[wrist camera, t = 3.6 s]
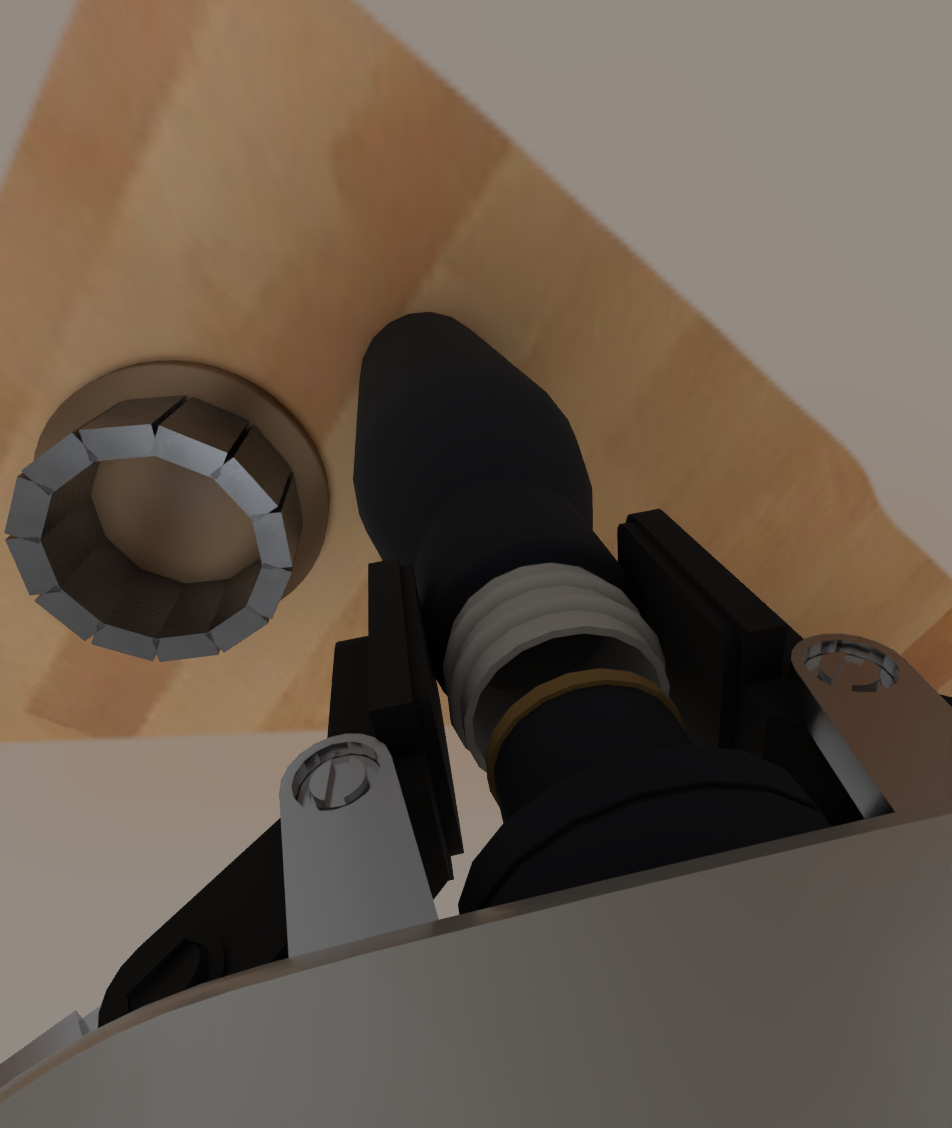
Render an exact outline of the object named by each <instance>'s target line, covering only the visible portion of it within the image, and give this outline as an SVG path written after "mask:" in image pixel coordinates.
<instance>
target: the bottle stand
mask: <svg viewBox="0 0 952 1128" xmlns="http://www.w3.org/2000/svg"><path fill="white" fill-rule="evenodd" d="M22 472H23V473H22V474H20V475H19V476H17V481H16V485H15V489H14V494H13V498H12V502H11V507H10V511H9V516H8V520H7V524H6V529H5V533H6V534H9V535H10V536H9V537H8V538H7V539H5V540H6V542H7V545H8V547H9V549H10V551H11V554H12V556H13V558H14V561H15V563H16V565H17V567H18V570H19V572H20V574H21V576H22V579H23V581H24V583H25V585H26V588H27V590H28V592H29V594H30V595H38V594H40V595H39V596H38V597H37V599H36V600H35V602H36V603H38V604H39V605H40V606H41V607H43V608H44V609H45V610H46V611H48V612H49V613H50V614H52V615H53V616H54V617H55V618H57V619H58V620H59V621H60V622H62V623H63V624H64V625H65V626H67V627H68V628H69V629H70V630H72V631H73V632H74V633H76V634H77V635H78V636H79V637H81V638H82V639H83V640H84V641H86V640H87V639H88V638H90V637H91V636H93V635H94V637H93V640H92V645H96V646H100V647H103V648H107V649H110V650H114V651H118V652H121V653H125V654H128V655H132V656H135V657H139V658H143V659H146V660H150V661H153V660H154V658H155V656H156V654H157V656H158V659H159V661H160V662H163V661H171V660H179V659H187V658H195V657H203V656H211V655H218V654H219V651H220V649H221V650H222V651H223V652H226V651H227V650H229V649H230V648H232V647H233V646H235V645H236V644H238V643H239V642H241V641H242V640H244V639H245V638H247V637H248V636H250V635H251V634H253V633H254V632H256V631H257V630H259V629H260V628H262V627H263V626H265V625H266V624H268V622H269V618H271V619H272V617H273V615H274V613H275V610H276V608H277V606H278V603H279V601H280V600H282V599H283V598H284V597H286V596H287V595H288V594H290V593H291V592H292V591H293V590H294V589H295V588H296V587H297V586H298V585H299V584H300V583H301V582H302V581H303V580H304V578H305V577H306V576H307V574H308V573H309V572H310V570H311V569H312V567H313V565H314V563H315V561H316V559H317V558H318V556H319V553H320V550H321V547H322V545H323V542H324V537H325V532H326V527H327V521H328V512H329V493H328V483H327V479H326V475H325V471H324V467H323V464H322V462H321V459H320V457H319V454H318V452H317V450H316V448H315V446H314V444H313V442H312V441H311V439H310V437H309V436H308V434H307V433H306V431H305V430H304V429H303V427H302V426H301V424H300V423H299V422H298V421H297V420H296V418H295V417H294V416H293V415H292V414H291V413H290V412H289V411H288V410H287V409H286V408H285V407H284V406H283V405H282V404H281V403H279V402H278V401H277V400H276V399H275V398H274V397H272V396H271V395H270V394H268V393H267V392H265V391H264V390H262V389H261V388H259V387H258V386H256V385H255V384H253V383H251V382H249V381H247V380H245V379H243V378H241V377H239V376H237V375H235V374H232V373H230V372H227V371H224V370H222V369H219V368H216V367H212V366H208V365H203V364H199V363H193V362H184V361H153V362H145V363H138V364H135V365H131V366H128V367H124V368H121V369H118V370H116V371H114V372H111V373H109V374H107V375H105V376H102V377H100V378H98V379H96V380H94V381H92V382H90V383H89V384H87V385H86V386H84V387H82V388H81V389H79V390H78V391H76V392H75V393H73V394H72V395H71V396H70V397H69V398H68V399H67V400H66V401H65V402H63V403H62V404H61V405H60V406H59V408H58V409H57V410H56V411H55V413H54V414H53V415H52V417H51V418H50V419H49V421H48V422H47V424H46V426H45V428H44V430H43V432H42V434H41V436H40V439H39V442H38V445H37V448H36V451H35V456H34V461H33V462H32V463H31V464H30V465H28V466H27V467H26V468H24V469H23V470H22Z"/></svg>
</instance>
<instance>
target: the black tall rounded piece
mask: <svg viewBox="0 0 952 1128" xmlns="http://www.w3.org/2000/svg"><path fill="white" fill-rule="evenodd" d="M353 482H354V488H355V493H356V499H357V505H358V510H359V515H360V517H361V520H362V522H363V524H364V527H365V529H366V531H367V533H368V535H369V537H370V539H371V540H372V542H373V544H374V546H375V547H376V549H377V551H378V553H379V555H380V556H381V558H382V560H383V561H386V560H391V559H396V558H399V560H400V564H401V566H402V565H407V564H412V566H413V570H414V575H415V580H416V585H417V590H418V595H419V599H420V604H421V609H422V616H423V623H424V630H425V636H426V642H427V647H428V652H429V657H430V661H431V666H432V671H433V674H434V676H435V678H436V680H437V681H438V683H439V685H440V686H441V688H442V690H443V692H444V693H445V694H446V695H447V696H448V703H449V711H450V719H451V724H452V726H453V727H454V729H455V731H456V733H457V734H458V736H459V738H460V740H461V741H462V743H463V745H464V746H465V748H466V749H468V750H469V751H470V752H471V753H472V755H473V757H474V759H475V761H476V762H477V764H478V766H479V767H480V768H481V769H483V770H484V771H485V772H487V779H488V784H489V788H490V792H491V793H492V795H493V797H494V799H495V800H496V802H497V804H498V805H499V807H500V810H501V814H502V819H503V825H502V826H501V827H500V828H499V830H498V831H497V832H496V833H495V835H494V836H493V837H492V838H491V839H490V841H489V842H488V843H487V844H486V846H485V847H484V848H483V849H482V851H481V852H480V853H479V854H478V855H477V857H476V858H475V859H474V861H473V862H472V865H471V868H470V870H469V873H468V877H467V879H466V882H465V885H464V888H463V891H462V894H461V897H460V900H459V903H458V908H459V915H461V914H465V913H469V912H473V911H478V910H482V909H486V908H490V907H494V906H498V905H503V904H507V903H511V902H515V901H519V900H523V899H528V898H532V897H536V896H540V895H544V894H549V893H553V892H557V891H561V890H565V889H569V888H574V887H578V886H582V885H586V884H590V883H594V882H599V881H603V880H607V879H611V878H615V877H620V876H624V875H628V874H632V873H637V872H641V871H645V870H650V869H654V868H658V867H662V866H667V865H671V864H675V863H679V862H684V861H688V860H692V859H696V858H701V857H705V856H709V855H713V854H718V853H722V852H726V851H731V850H735V849H739V848H743V847H748V846H752V845H756V844H761V843H765V842H769V841H773V840H778V839H782V838H786V837H791V836H795V835H799V834H804V833H808V832H812V831H816V830H821V829H825V828H829V827H833V826H832V825H831V823H830V822H829V821H828V820H827V818H826V817H825V816H824V815H823V813H822V812H821V811H820V810H819V808H818V807H817V806H816V805H815V803H814V802H813V801H812V800H811V798H810V797H809V796H808V795H807V794H806V793H805V791H804V790H803V789H802V788H801V787H800V786H799V785H798V783H797V782H796V781H795V780H794V779H793V778H792V776H791V775H790V774H789V773H788V772H787V771H786V770H785V769H783V768H781V767H779V766H777V765H774V764H772V763H770V762H767V761H765V760H763V759H761V758H758V757H756V756H754V755H751V754H749V753H747V752H744V751H742V750H733V749H721V748H709V747H696V746H694V744H693V743H692V741H691V740H690V738H689V737H688V735H687V734H686V731H685V728H684V725H683V722H682V719H681V716H680V713H679V711H678V709H677V708H676V706H675V705H674V703H673V702H672V700H671V699H670V698H669V691H670V685H669V682H668V679H667V676H666V672H665V666H666V662H665V658H664V655H663V652H662V649H661V646H660V643H659V640H658V636H657V634H656V633H655V632H654V631H653V630H652V629H651V628H650V627H649V625H648V624H647V623H646V622H645V621H644V620H643V619H642V617H641V616H640V609H639V603H638V600H637V596H636V593H635V590H634V587H633V584H632V581H631V578H630V577H629V576H628V574H627V573H626V572H625V571H624V569H623V568H622V567H621V566H620V564H619V563H618V562H617V560H616V559H615V558H614V557H613V555H612V554H611V553H610V552H609V550H608V549H607V548H606V546H605V545H604V544H603V543H602V541H601V540H600V539H599V538H598V536H597V535H596V534H595V532H594V531H593V504H592V486H591V483H590V480H589V476H588V473H587V470H586V467H585V464H584V461H583V458H582V455H581V452H580V449H579V446H578V443H577V440H576V437H575V434H574V432H573V430H572V428H571V425H570V423H569V421H568V419H567V418H566V417H565V415H564V414H563V413H562V412H561V410H560V409H559V408H558V406H557V405H556V404H555V403H554V401H553V400H552V399H551V397H550V396H549V395H548V394H547V392H545V391H544V390H543V389H542V388H541V387H539V386H538V385H537V384H536V383H535V382H533V381H532V380H531V379H530V378H529V377H527V376H526V375H525V374H524V373H522V372H521V371H520V370H519V369H518V368H516V367H515V366H514V365H513V364H512V363H510V362H509V361H508V360H507V359H506V358H504V357H503V356H502V355H501V354H499V353H498V352H497V351H496V350H495V349H493V348H492V347H491V346H490V345H489V344H487V343H486V342H485V341H484V340H483V339H481V338H480V337H479V336H478V335H477V334H475V333H474V332H473V331H472V330H470V329H469V328H468V327H466V326H464V325H463V324H461V323H460V322H458V321H457V320H455V319H454V318H452V317H449V316H444V315H440V314H436V313H432V312H426V313H415V314H408V315H406V316H404V317H401V318H399V319H397V320H395V321H393V322H391V323H389V324H388V325H387V326H385V327H384V328H383V329H382V330H381V331H380V332H379V333H378V334H377V335H376V336H375V337H374V338H373V340H372V341H371V343H370V345H369V347H368V349H367V351H366V353H365V355H364V357H363V361H362V367H361V374H360V381H359V396H358V412H357V427H356V443H355V458H354V474H353Z"/></svg>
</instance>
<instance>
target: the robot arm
mask: <svg viewBox="0 0 952 1128" xmlns="http://www.w3.org/2000/svg"><path fill="white" fill-rule="evenodd" d="M617 537H618V563H619V564H620V566H621V567H622V568H623V569H624V571H625V572H626V573H627V574H628V576H629V577H630V578H631V581H632V584H633V587H634V590H635V593H636V596H637V600H638V603H639V609H640V616H641V617H642V619H643V620H644V621H645V622H646V623H647V624H648V625H649V627H650V628H651V629H652V630H653V631H654V632H655V633H656V634H657V636H658V640H659V643H660V646H661V649H662V652H663V655H664V658H665V662H666V666H665V672H666V676H667V679H668V682H669V685H670V691H669V698H670V699H671V700H672V702H673V703H674V705H675V706H676V708H677V709H678V711H679V713H680V716H681V719H682V722H683V725H684V728H685V731H686V734H687V735H688V737H689V738H690V740H691V741H692V743H693V744H694V746H696V747H709V748H721V749H733V750H742V751H744V752H747V753H749V754H751V755H754V756H756V757H758V758H761V759H763V760H765V761H767V762H770V763H772V764H774V765H777V766H779V767H781V768H783V769H785V770H786V771H787V772H788V773H789V774H790V775H791V776H792V778H793V779H794V780H795V781H796V782H797V783H798V785H799V786H800V787H801V788H802V789H803V790H804V791H805V793H806V794H807V795H808V796H809V797H810V798H811V800H812V801H813V802H814V803H815V805H816V806H817V807H818V808H819V810H820V811H821V812H822V813H823V815H824V816H825V817H826V818H827V820H828V821H829V822H830V823H831V825H832V826H833V827H829V828H825V829H821V830H816V831H812V832H808V833H804V834H799V835H795V836H791V837H786V838H782V839H778V840H773V841H769V842H765V843H761V844H756V845H752V846H748V847H743V848H739V849H735V850H731V851H726V852H722V853H718V854H713V855H709V856H705V857H701V858H696V859H692V860H688V861H684V862H679V863H675V864H671V865H667V866H662V867H658V868H654V869H650V870H645V871H641V872H637V873H632V874H628V875H624V876H620V877H615V878H611V879H607V880H603V881H599V882H594V883H590V884H586V885H582V886H578V887H574V888H569V889H565V890H561V891H557V892H553V893H549V894H544V895H540V896H536V897H532V898H528V899H523V900H519V901H515V902H511V903H507V904H503V905H498V906H494V907H490V908H486V909H482V910H478V911H473V912H469V913H465V914H461V915H457V916H453V917H449V918H444V919H440V920H439V919H438V916H437V912H436V909H435V905H434V902H433V899H434V898H435V897H436V896H437V894H438V893H439V892H440V891H441V889H442V888H443V887H444V885H445V884H446V883H447V881H449V880H453V879H454V876H453V869H452V862H451V856H453V855H458V854H462V853H464V850H463V843H462V837H461V831H460V824H459V818H458V811H457V805H456V799H455V792H454V786H453V780H452V774H451V767H450V761H449V755H448V748H447V742H446V736H445V730H444V723H443V717H442V710H441V704H440V698H439V692H438V687H437V682H436V678H435V676H434V674H433V671H432V666H431V661H430V657H429V652H428V647H427V642H426V636H425V630H424V623H423V616H422V609H421V604H420V599H419V595H418V590H417V585H416V580H415V575H414V570H413V566H412V564H407V565H402V566H401V564H400V560H399V558H396V559H391V560H386V561H381V562H375V563H370V564H369V565H368V630H369V636H365V637H360V638H355V639H350V640H345V641H340V642H337V643H336V645H335V652H334V664H333V676H332V688H331V700H330V712H329V725H328V737H327V739H325V740H322V741H320V742H318V743H316V744H314V745H312V746H311V747H309V748H308V749H307V750H305V751H304V752H302V753H301V754H299V755H298V757H297V758H296V759H295V760H294V761H293V762H292V763H291V764H290V765H289V766H288V768H287V770H286V772H285V774H284V776H283V778H282V779H281V785H280V792H279V798H280V815H281V818H280V819H279V820H278V821H276V822H275V823H274V824H273V825H272V826H271V827H270V828H269V829H268V830H267V831H266V832H264V834H262V835H261V836H260V837H259V838H258V839H257V840H256V841H255V842H253V843H252V844H251V845H250V846H249V847H248V848H247V849H246V850H245V851H244V852H242V853H241V854H240V855H239V856H238V857H237V858H236V859H235V860H234V861H233V862H232V863H230V864H229V865H228V866H227V867H226V868H225V869H224V870H223V871H222V872H221V873H220V874H218V875H217V876H216V877H215V878H214V879H213V880H212V881H211V882H210V883H209V884H208V885H206V886H205V887H204V888H203V889H202V890H201V891H200V892H199V893H198V894H197V895H196V896H194V897H193V899H191V900H190V901H189V902H188V903H187V904H186V905H185V906H183V908H181V909H180V910H179V911H178V912H177V913H176V914H175V915H174V916H173V917H172V918H170V920H168V921H167V922H166V923H165V924H164V925H163V926H162V927H161V928H160V929H158V930H157V931H156V932H155V933H154V934H153V935H152V936H151V937H150V938H149V939H147V940H146V941H145V942H144V943H143V944H142V945H141V946H140V947H139V948H138V949H137V950H136V951H135V952H134V953H133V954H132V955H131V956H130V958H129V959H128V960H127V961H126V962H125V963H124V964H123V965H122V966H121V967H120V969H119V971H118V972H117V974H116V975H115V977H114V979H113V980H112V982H111V984H110V985H109V987H108V988H107V990H106V993H105V996H104V999H103V1002H102V1005H100V1006H99V1007H98V1008H96V1009H95V1010H94V1011H92V1012H91V1013H89V1014H88V1015H87V1016H85V1017H84V1018H82V1017H81V1016H80V1015H79V1014H78V1012H77V1011H76V1010H75V1011H74V1012H73V1013H71V1014H70V1015H68V1016H67V1017H66V1018H64V1019H63V1020H61V1021H60V1022H59V1023H57V1024H56V1025H54V1026H53V1027H52V1028H50V1029H49V1030H47V1031H46V1032H45V1033H43V1034H42V1035H41V1036H39V1037H38V1038H36V1039H35V1040H33V1041H32V1042H31V1043H29V1044H28V1045H27V1046H25V1047H24V1048H22V1049H21V1050H19V1051H18V1052H17V1053H15V1054H14V1055H12V1056H11V1057H10V1058H8V1059H7V1060H6V1061H4V1062H3V1063H1V1064H0V1128H952V697H948V696H944V695H940V694H939V693H938V692H937V691H936V690H935V689H934V688H933V687H932V686H931V685H930V684H929V683H928V682H927V681H926V680H925V679H924V678H923V677H922V676H921V675H920V674H919V673H918V672H917V671H916V670H915V669H914V668H913V667H912V666H911V665H910V664H909V663H908V662H907V661H906V660H905V659H904V658H903V657H902V656H900V655H899V654H898V653H897V652H895V651H894V650H893V649H891V648H889V647H887V646H885V645H883V644H880V643H878V642H876V641H873V640H869V639H866V638H863V637H860V636H853V635H846V634H821V635H816V636H811V637H808V638H806V639H803V638H802V637H801V636H800V635H799V634H798V633H796V632H795V631H794V630H793V629H792V628H791V627H790V626H789V625H788V624H787V623H786V622H785V621H783V620H782V619H781V618H780V617H779V616H778V615H777V614H776V613H775V612H774V611H772V610H771V609H770V608H769V607H768V606H767V605H766V604H765V603H764V602H762V601H761V600H760V599H759V598H758V597H757V596H756V595H755V594H754V593H753V592H751V591H750V590H749V589H748V588H747V587H746V586H745V585H744V584H743V583H742V582H740V581H739V580H738V579H737V578H736V577H735V576H734V575H733V574H732V573H730V572H729V571H728V570H727V569H726V568H725V567H724V566H723V565H722V564H721V563H719V562H718V561H717V560H716V559H715V558H714V557H713V556H712V555H711V554H710V553H708V552H707V551H706V550H705V549H704V548H703V547H702V546H701V545H700V544H698V543H697V542H696V541H695V540H694V539H693V538H692V537H691V536H690V535H689V534H687V533H686V532H685V531H684V530H683V529H682V528H681V527H680V526H679V525H678V524H676V523H675V522H674V521H673V520H672V519H671V518H670V517H669V516H668V515H667V514H665V513H664V512H663V511H662V510H660V509H656V510H650V511H645V512H640V513H634V514H629V515H628V517H627V520H626V523H623V524H619V526H618V531H617Z"/></svg>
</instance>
